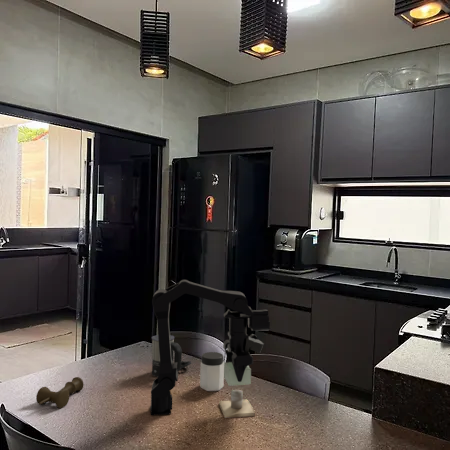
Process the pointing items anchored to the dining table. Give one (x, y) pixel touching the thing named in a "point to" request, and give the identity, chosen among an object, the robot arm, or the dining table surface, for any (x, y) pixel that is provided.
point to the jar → (212, 371)
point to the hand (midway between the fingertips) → (237, 377)
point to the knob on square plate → (236, 406)
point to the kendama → (59, 393)
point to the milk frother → (177, 355)
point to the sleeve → (231, 376)
